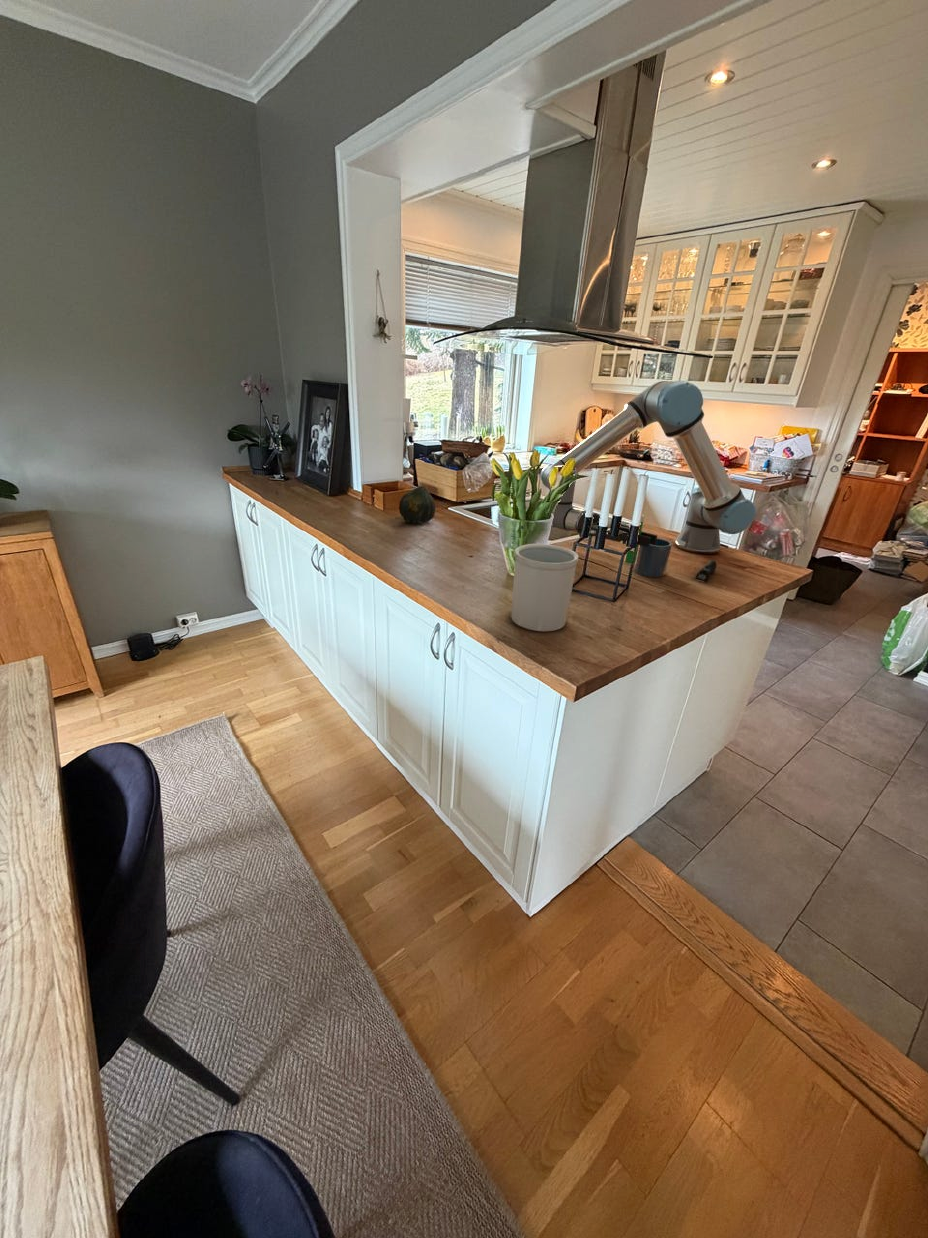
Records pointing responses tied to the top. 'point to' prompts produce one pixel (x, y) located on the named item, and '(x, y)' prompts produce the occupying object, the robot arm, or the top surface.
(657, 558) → the cup
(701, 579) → the electric trimmer
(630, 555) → the green marker
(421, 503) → the squash
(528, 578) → the utensil holder
